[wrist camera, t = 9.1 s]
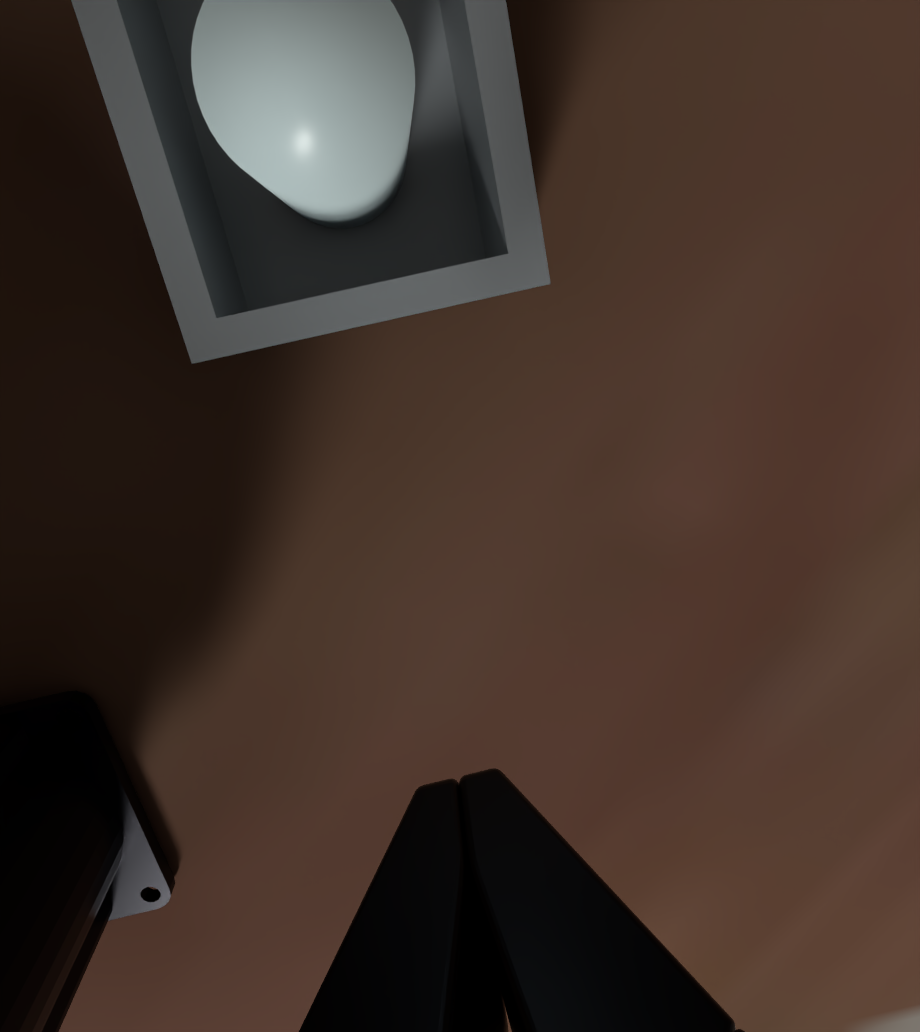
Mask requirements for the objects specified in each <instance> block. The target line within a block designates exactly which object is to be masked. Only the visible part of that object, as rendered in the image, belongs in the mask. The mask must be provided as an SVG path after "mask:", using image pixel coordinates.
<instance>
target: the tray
mask: <svg viewBox="0 0 920 1032" xmlns="http://www.w3.org/2000/svg"><path fill="white" fill-rule="evenodd" d="M71 1H72V4H73V7H74V10H75V13H76V16H77V19H78V22H79V25H80V28H81V31H82V34H83V37H84V40H85V43H86V46H87V49H88V52H89V55H90V58H91V61H92V64H93V67H94V71H95V74H96V77H97V80H98V83H99V86H100V89H101V92H102V95H103V98H104V101H105V104H106V107H107V110H108V113H109V116H110V119H111V122H112V125H113V128H114V131H115V134H116V137H117V140H118V143H119V146H120V149H121V152H122V155H123V158H124V161H125V164H126V167H127V170H128V173H129V176H130V179H131V182H132V185H133V188H134V191H135V194H136V197H137V200H138V203H139V206H140V209H141V212H142V215H143V218H144V221H145V224H146V227H147V230H148V233H149V236H150V239H151V242H152V245H153V248H154V251H155V254H156V257H157V260H158V263H159V266H160V269H161V272H162V275H163V278H164V281H165V284H166V287H167V290H168V293H169V296H170V299H171V302H172V305H173V308H174V311H175V314H176V317H177V320H178V323H179V326H180V329H181V332H182V335H183V338H184V341H185V344H186V347H187V351H188V354H189V357H190V360H191V363H192V364H194V363H198V362H203V361H207V360H212V359H216V358H221V357H225V356H230V355H234V354H238V353H243V352H247V351H252V350H256V349H261V348H265V347H270V346H274V345H279V344H283V343H288V342H292V341H297V340H301V339H306V338H310V337H315V336H319V335H324V334H328V333H333V332H337V331H342V330H346V329H351V328H355V327H359V326H364V325H368V324H373V323H377V322H382V321H386V320H391V319H395V318H400V317H404V316H409V315H413V314H418V313H422V312H427V311H431V310H436V309H440V308H445V307H449V306H454V305H458V304H463V303H467V302H471V301H476V300H480V299H485V298H489V297H494V296H498V295H503V294H507V293H512V292H516V291H521V290H525V289H530V288H534V287H539V286H543V285H548V284H551V283H550V277H549V270H548V264H547V258H546V251H545V245H544V239H543V232H542V226H541V220H540V213H539V207H538V201H537V194H536V188H535V182H534V175H533V169H532V163H531V156H530V150H529V144H528V137H527V131H526V125H525V118H524V112H523V106H522V99H521V93H520V87H519V80H518V74H517V68H516V61H515V55H514V49H513V42H512V36H511V30H510V23H509V17H508V10H507V4H506V0H71Z"/></svg>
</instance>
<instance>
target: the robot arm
mask: <svg viewBox="0 0 920 1032" xmlns="http://www.w3.org/2000/svg"><path fill="white" fill-rule="evenodd" d="M65 710H72V711H74V712H76V713H77V714H78V715H79V717H80V718H72V717H70V716H68V715H67V713H66V712H65ZM174 885H175V880H174V876H173V874H172V872H171V870H170V867H169V865H168V863H167V861H166V858H165V856H164V854H163V852H162V850H161V847H160V845H159V843H158V841H157V838H156V836H155V834H154V832H153V830H152V827H151V825H150V823H149V821H148V818H147V816H146V814H145V812H144V809H143V807H142V805H141V803H140V801H139V798H138V796H137V794H136V792H135V789H134V787H133V785H132V783H131V780H130V778H129V776H128V774H127V772H126V769H125V767H124V765H123V763H122V760H121V758H120V756H119V754H118V751H117V749H116V747H115V745H114V743H113V740H112V738H111V736H110V734H109V731H108V729H107V727H106V725H105V722H104V720H103V718H102V716H101V714H100V711H99V709H98V707H97V705H96V703H95V702H94V700H93V699H92V698H91V697H90V696H88V695H87V694H85V693H82V692H78V691H68V692H63V693H59V694H55V695H51V696H46V697H42V698H38V699H33V700H29V701H25V702H21V703H16V704H12V705H8V706H3V707H0V1032H59V1029H60V1027H61V1025H62V1023H63V1020H64V1018H65V1016H66V1014H67V1011H68V1009H69V1007H70V1005H71V1002H72V1000H73V998H74V996H75V993H76V991H77V989H78V987H79V984H80V982H81V980H82V978H83V975H84V973H85V971H86V969H87V966H88V964H89V962H90V960H91V958H92V955H93V953H94V951H95V949H96V946H97V944H98V942H99V940H100V937H101V935H102V933H103V931H104V928H105V926H106V924H107V922H108V921H109V920H113V919H117V918H121V917H125V916H129V915H134V914H138V913H142V912H146V911H150V910H154V909H158V908H160V907H163V906H164V905H165V904H167V903H168V902H169V899H170V896H171V894H172V891H173V888H174ZM149 887H154V888H157V890H153V889H151V888H149ZM505 1008H506V1011H507V1015H508V1019H509V1023H510V1026H511V1030H512V1032H745V1031H743V1030H741V1029H738V1030H735V1023H734V1021H733V1019H732V1018H731V1017H730V1016H729V1015H728V1014H727V1013H726V1012H725V1011H724V1010H723V1008H722V1007H721V1006H720V1005H719V1004H718V1003H717V1002H716V1001H715V1000H714V999H713V998H712V997H711V996H710V995H709V993H708V992H707V991H706V990H705V989H704V988H703V987H702V986H701V985H700V984H699V983H698V982H697V981H696V980H695V978H694V977H693V976H692V975H691V974H690V973H689V972H688V971H687V970H686V969H685V968H684V967H683V966H682V965H681V963H680V962H679V961H678V960H677V959H676V958H675V957H674V956H673V955H672V954H671V953H670V952H669V951H668V950H667V948H666V947H665V946H664V945H663V944H662V943H661V942H660V941H659V940H658V939H657V938H656V937H655V936H654V935H653V933H652V932H651V931H650V930H649V929H648V928H647V927H646V926H645V925H644V924H643V923H642V922H641V921H640V919H639V918H638V917H637V916H636V915H635V914H634V913H633V912H632V911H631V910H630V909H629V908H628V907H627V906H626V904H625V903H624V902H623V901H622V900H621V899H620V898H619V897H618V896H617V895H616V894H615V893H614V892H613V891H612V889H611V888H610V887H609V886H608V885H607V884H606V883H605V882H604V881H603V880H602V879H601V878H600V877H599V876H598V874H597V873H596V872H595V871H594V870H593V869H592V868H591V867H590V866H589V865H588V864H587V863H586V862H585V861H584V859H583V858H582V857H581V856H580V855H579V854H578V853H577V852H576V851H575V850H574V849H573V848H572V847H571V846H570V844H569V843H568V842H567V841H566V840H565V839H564V838H563V837H562V836H561V835H560V834H559V833H558V832H557V831H556V829H555V828H554V827H553V826H552V825H551V824H550V823H549V822H548V821H547V820H546V819H545V818H544V817H543V815H542V814H541V813H540V812H539V811H538V810H537V809H536V808H535V807H534V806H533V805H532V804H531V803H530V802H529V800H528V799H527V798H526V797H525V796H524V795H523V794H522V793H521V792H520V791H519V790H518V789H517V788H516V787H515V785H514V784H513V783H512V782H511V781H510V780H509V779H508V778H507V777H506V776H505V775H504V774H503V773H502V772H501V771H500V770H498V769H488V770H484V771H480V772H476V773H472V774H468V775H464V776H463V777H462V778H461V779H460V782H459V783H458V782H457V781H456V780H455V779H447V780H443V781H439V782H435V783H430V784H426V785H423V786H420V787H419V788H418V789H417V790H416V791H415V793H414V795H413V797H412V799H411V801H410V803H409V805H408V808H407V810H406V812H405V814H404V816H403V818H402V820H401V822H400V824H399V826H398V828H397V830H396V832H395V834H394V836H393V838H392V841H391V843H390V845H389V847H388V849H387V851H386V853H385V855H384V857H383V859H382V861H381V863H380V865H379V867H378V869H377V872H376V874H375V876H374V878H373V880H372V882H371V884H370V886H369V888H368V890H367V892H366V894H365V896H364V898H363V900H362V902H361V905H360V907H359V909H358V911H357V913H356V915H355V917H354V919H353V921H352V923H351V925H350V927H349V929H348V931H347V933H346V936H345V938H344V940H343V942H342V944H341V946H340V948H339V950H338V952H337V954H336V956H335V958H334V960H333V962H332V964H331V966H330V969H329V971H328V973H327V975H326V977H325V979H324V981H323V983H322V985H321V987H320V989H319V991H318V993H317V995H316V997H315V1000H314V1002H313V1004H312V1006H311V1008H310V1010H309V1012H308V1014H307V1016H306V1018H305V1020H304V1022H303V1024H302V1026H301V1028H300V1030H299V1032H508V1023H507V1017H506V1011H505Z"/></svg>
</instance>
